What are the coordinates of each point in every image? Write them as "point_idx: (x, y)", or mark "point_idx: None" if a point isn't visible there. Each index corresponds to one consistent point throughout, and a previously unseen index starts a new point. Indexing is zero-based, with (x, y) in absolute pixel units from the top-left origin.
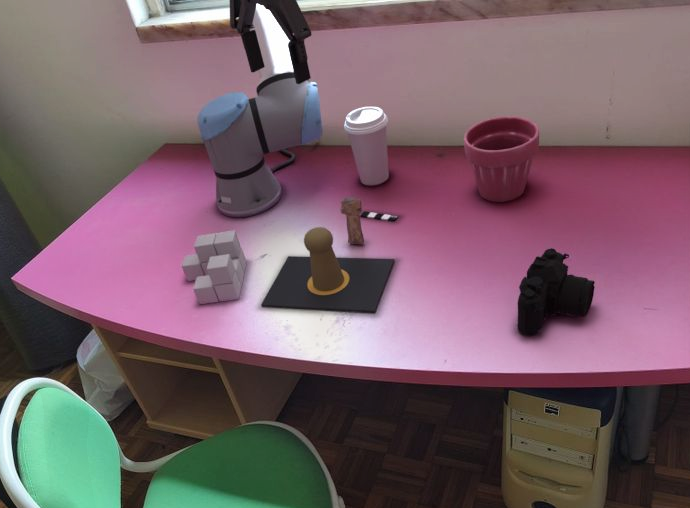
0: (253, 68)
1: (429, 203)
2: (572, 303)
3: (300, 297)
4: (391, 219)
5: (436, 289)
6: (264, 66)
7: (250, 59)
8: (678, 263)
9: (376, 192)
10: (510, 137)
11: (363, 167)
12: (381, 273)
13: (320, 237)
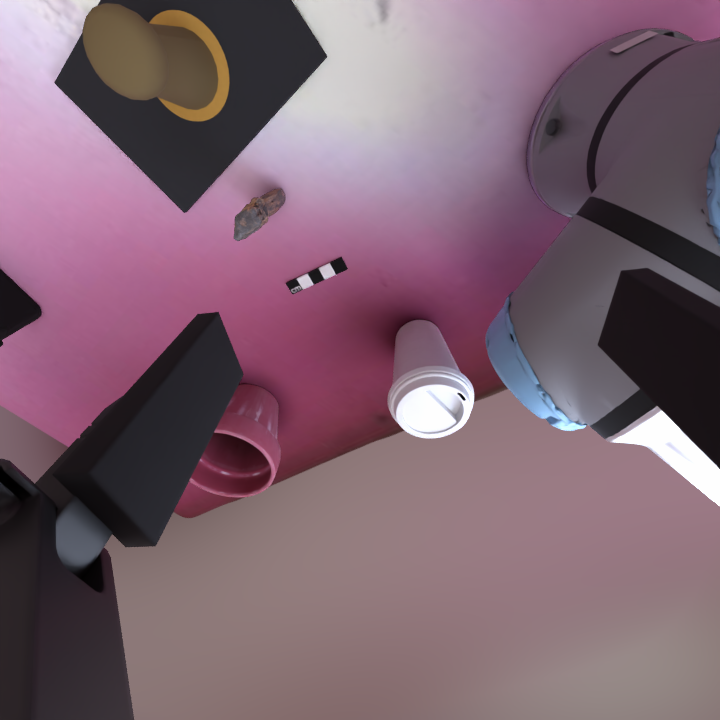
0: (631, 286)
1: (292, 341)
2: None
3: None
4: (292, 282)
5: (84, 209)
6: (600, 346)
7: (675, 309)
8: (28, 403)
9: (381, 316)
10: (257, 468)
11: (413, 336)
12: (156, 169)
13: (87, 45)
